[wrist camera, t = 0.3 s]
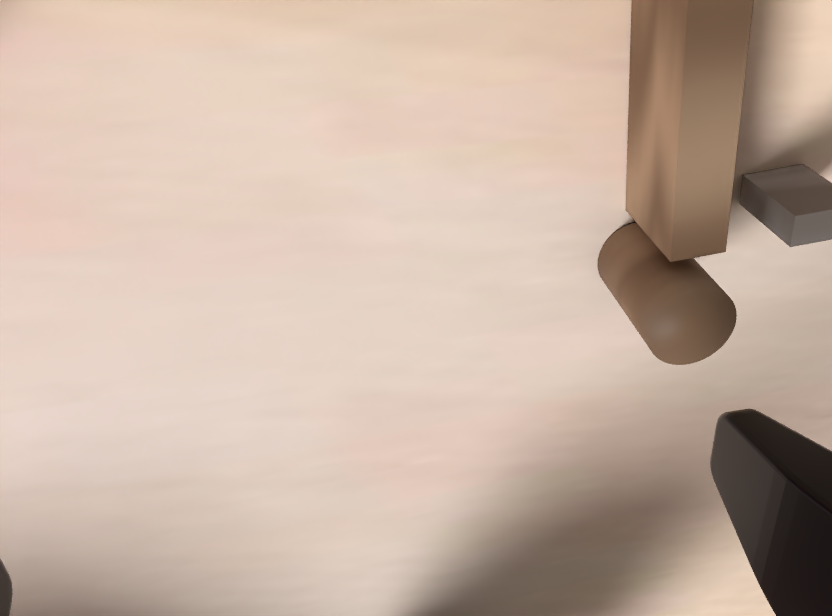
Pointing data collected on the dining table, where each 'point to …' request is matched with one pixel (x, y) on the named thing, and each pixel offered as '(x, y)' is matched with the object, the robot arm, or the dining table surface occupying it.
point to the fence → (693, 176)
